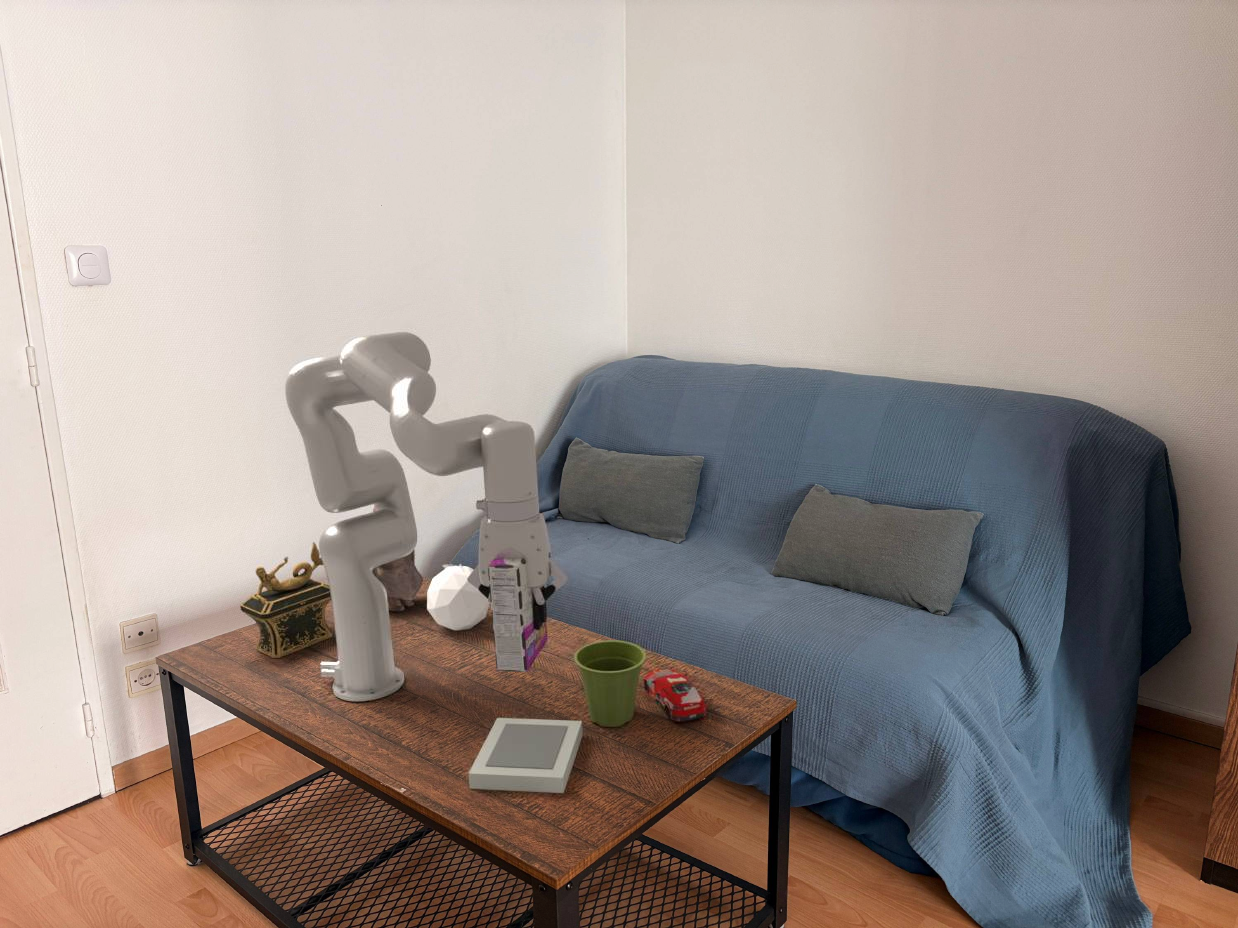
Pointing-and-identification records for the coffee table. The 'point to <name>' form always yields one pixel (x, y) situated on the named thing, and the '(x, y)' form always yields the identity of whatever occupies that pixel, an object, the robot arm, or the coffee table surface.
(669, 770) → the coffee table surface
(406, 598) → the clay figurine
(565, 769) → the picture frame
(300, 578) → the decorative box
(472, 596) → the geodesic sphere
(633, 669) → the plant pot
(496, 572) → the candy bar box
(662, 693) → the race car
